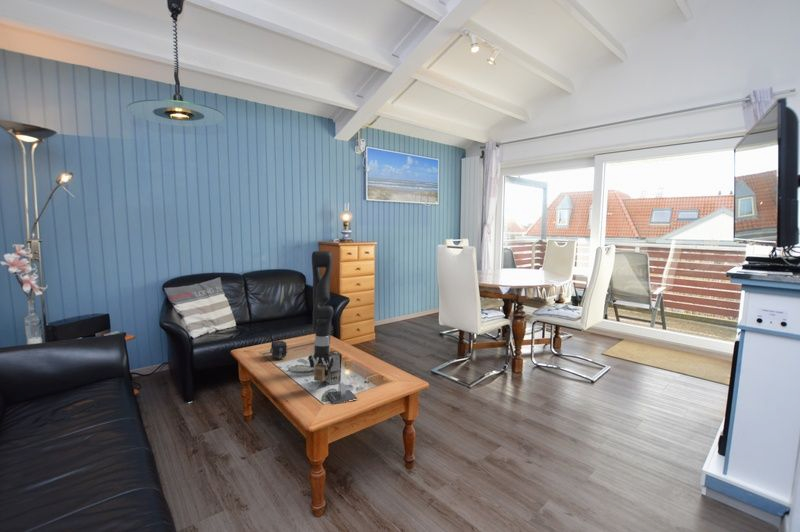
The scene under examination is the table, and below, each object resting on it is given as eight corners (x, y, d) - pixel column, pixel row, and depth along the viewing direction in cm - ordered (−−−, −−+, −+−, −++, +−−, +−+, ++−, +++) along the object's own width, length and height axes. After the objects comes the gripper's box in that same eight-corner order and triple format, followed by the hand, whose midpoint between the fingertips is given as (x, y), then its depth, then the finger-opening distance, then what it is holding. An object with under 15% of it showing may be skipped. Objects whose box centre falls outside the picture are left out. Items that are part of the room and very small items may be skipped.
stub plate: (326, 395, 183) (327, 381, 183) (349, 391, 189) (349, 379, 189) (333, 404, 173) (333, 390, 172) (357, 400, 178) (357, 387, 178)
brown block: (318, 375, 194) (319, 359, 193) (327, 376, 193) (328, 360, 193) (313, 380, 187) (314, 364, 187) (323, 381, 186) (323, 364, 186)
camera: (288, 361, 241) (283, 353, 254) (289, 344, 240) (284, 337, 253) (272, 363, 236) (267, 354, 249) (273, 346, 235) (268, 338, 247)
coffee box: (341, 383, 201) (342, 354, 200) (329, 385, 198) (330, 355, 197) (335, 378, 209) (336, 350, 208) (324, 379, 206) (325, 351, 205)
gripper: (337, 343, 192) (336, 374, 193) (311, 340, 194) (310, 372, 195) (332, 346, 184) (331, 379, 185) (306, 344, 186) (305, 377, 187)
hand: (321, 375), depth 190 cm, fingers closed on brown block, 5 cm apart
